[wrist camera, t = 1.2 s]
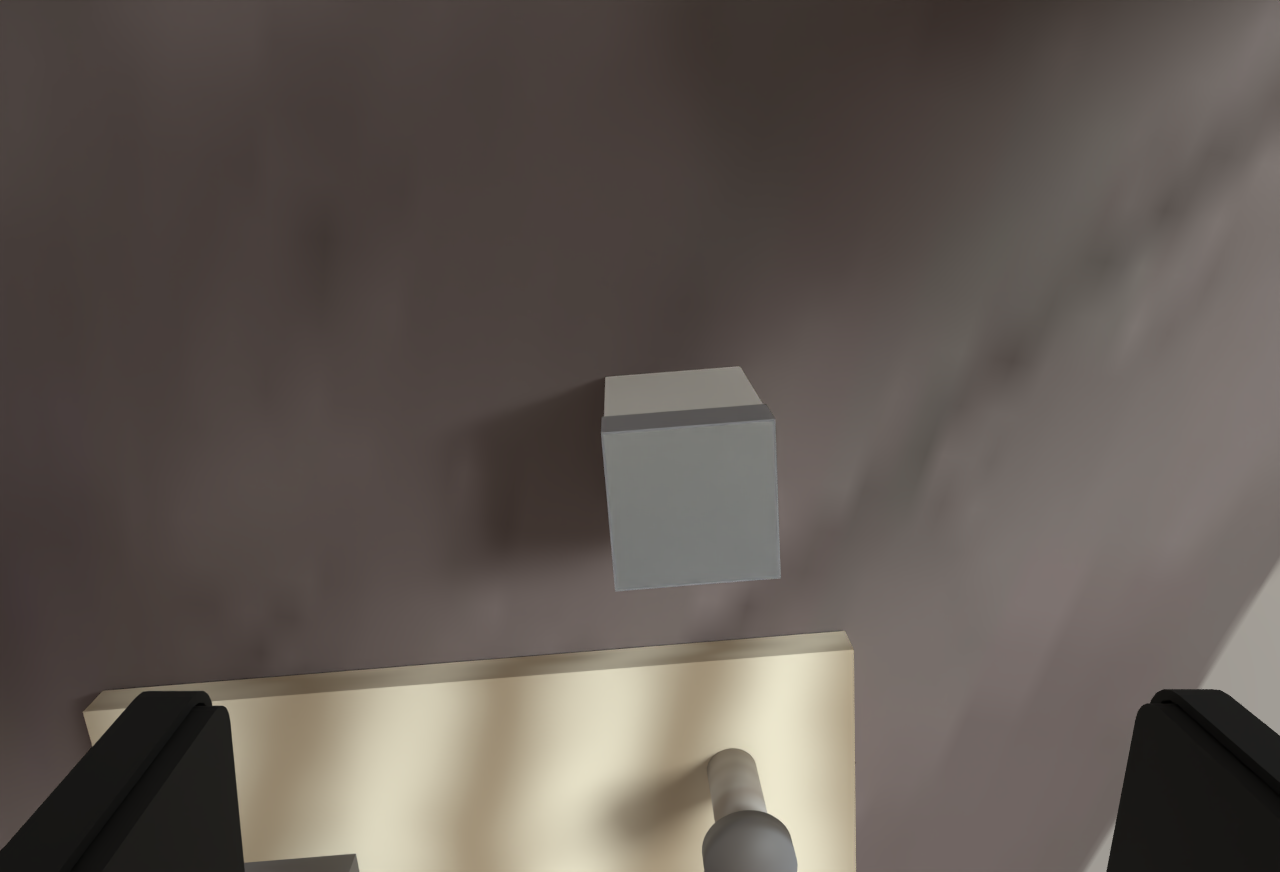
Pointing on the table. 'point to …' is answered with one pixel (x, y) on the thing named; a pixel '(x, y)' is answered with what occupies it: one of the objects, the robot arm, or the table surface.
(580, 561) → the table surface
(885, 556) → the table surface
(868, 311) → the table surface
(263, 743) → the board
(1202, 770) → the robot arm
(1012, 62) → the table surface
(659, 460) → the grey rectangular block
